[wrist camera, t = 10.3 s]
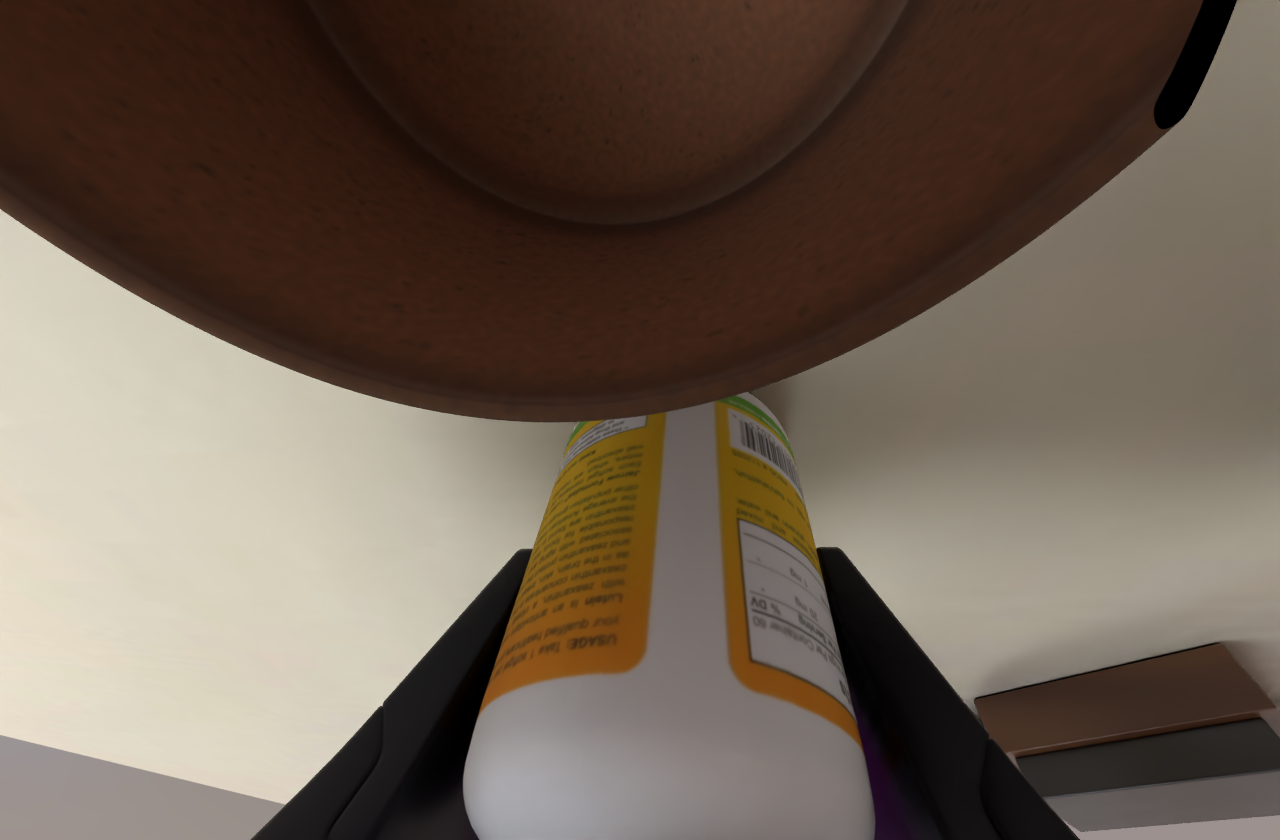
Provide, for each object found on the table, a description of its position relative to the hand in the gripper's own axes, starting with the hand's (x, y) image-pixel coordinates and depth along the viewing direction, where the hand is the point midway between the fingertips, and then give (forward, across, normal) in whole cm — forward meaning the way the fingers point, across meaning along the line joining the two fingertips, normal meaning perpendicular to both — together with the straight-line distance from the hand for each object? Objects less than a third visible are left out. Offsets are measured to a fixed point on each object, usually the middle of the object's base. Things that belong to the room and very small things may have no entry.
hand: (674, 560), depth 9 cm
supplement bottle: (+3, 0, 0) cm, 3 cm away
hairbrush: (+3, -10, +16) cm, 19 cm away
